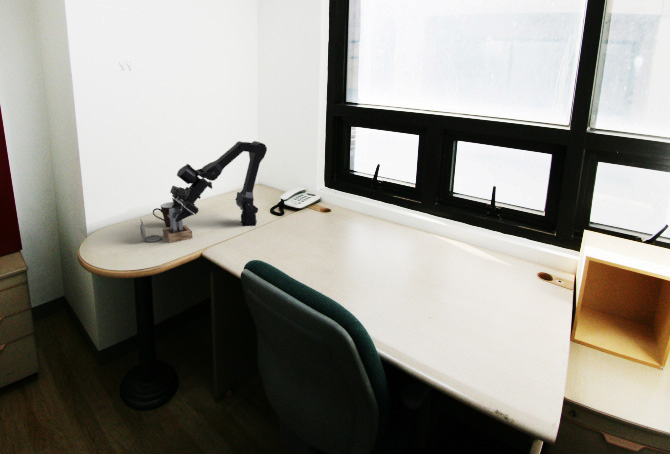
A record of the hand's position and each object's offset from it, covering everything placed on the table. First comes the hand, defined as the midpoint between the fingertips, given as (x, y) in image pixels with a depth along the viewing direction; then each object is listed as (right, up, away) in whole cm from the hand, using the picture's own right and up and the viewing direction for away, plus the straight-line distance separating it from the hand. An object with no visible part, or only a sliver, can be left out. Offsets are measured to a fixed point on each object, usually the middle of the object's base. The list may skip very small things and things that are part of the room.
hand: (172, 218), depth 192 cm
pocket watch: (-10, -10, 0) cm, 14 cm away
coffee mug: (-8, -3, +18) cm, 20 cm away
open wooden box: (+1, -8, +4) cm, 9 cm away
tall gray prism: (+1, -7, +3) cm, 8 cm away
